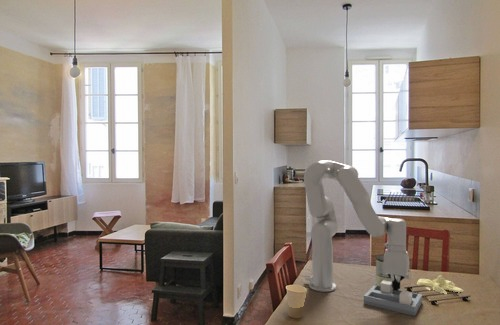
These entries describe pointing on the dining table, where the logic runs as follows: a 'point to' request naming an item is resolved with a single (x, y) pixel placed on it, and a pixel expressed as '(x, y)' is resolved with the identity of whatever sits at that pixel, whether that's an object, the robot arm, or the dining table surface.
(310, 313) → the dining table surface
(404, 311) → the switch board
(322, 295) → the dining table surface
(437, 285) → the cloth
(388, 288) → the tab
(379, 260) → the coffee can
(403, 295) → the tab
